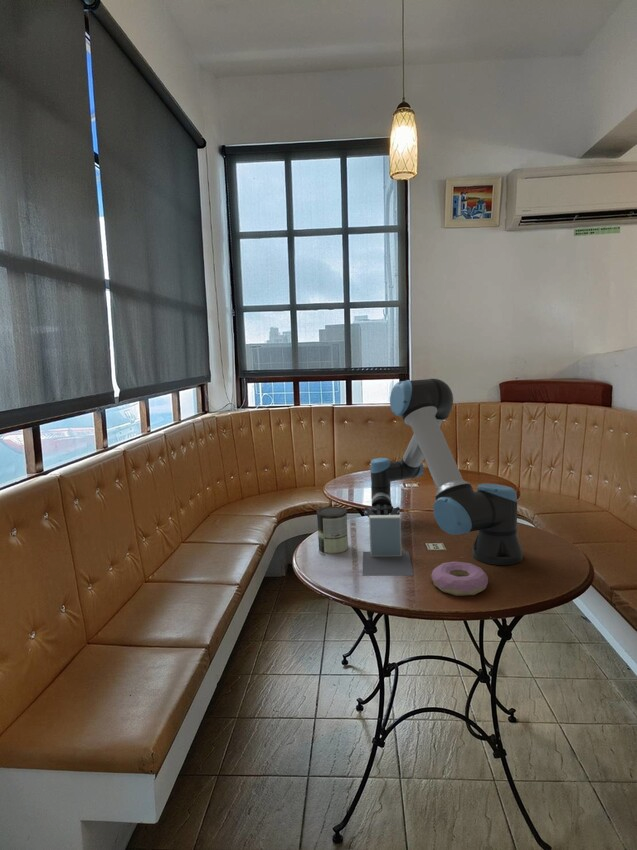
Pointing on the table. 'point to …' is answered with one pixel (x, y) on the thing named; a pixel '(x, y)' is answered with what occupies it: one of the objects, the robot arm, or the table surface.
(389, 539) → the tile
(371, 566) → the mat
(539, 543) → the table surface
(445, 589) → the donut
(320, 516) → the coffee can
